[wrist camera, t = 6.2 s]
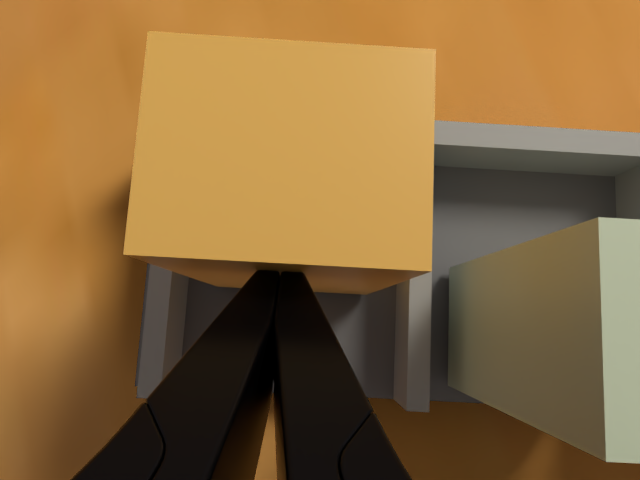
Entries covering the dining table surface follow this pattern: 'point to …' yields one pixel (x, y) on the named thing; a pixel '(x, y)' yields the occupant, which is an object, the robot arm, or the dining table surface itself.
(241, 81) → the orange block
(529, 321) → the pale green tall block
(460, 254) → the grey divided tray
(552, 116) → the dining table surface
